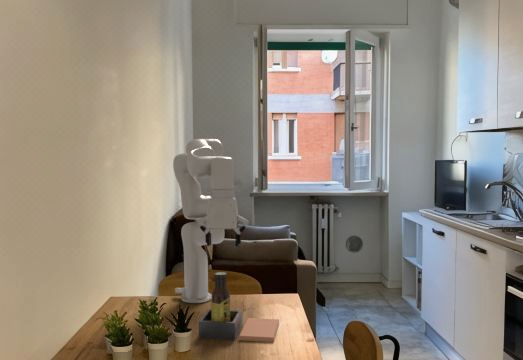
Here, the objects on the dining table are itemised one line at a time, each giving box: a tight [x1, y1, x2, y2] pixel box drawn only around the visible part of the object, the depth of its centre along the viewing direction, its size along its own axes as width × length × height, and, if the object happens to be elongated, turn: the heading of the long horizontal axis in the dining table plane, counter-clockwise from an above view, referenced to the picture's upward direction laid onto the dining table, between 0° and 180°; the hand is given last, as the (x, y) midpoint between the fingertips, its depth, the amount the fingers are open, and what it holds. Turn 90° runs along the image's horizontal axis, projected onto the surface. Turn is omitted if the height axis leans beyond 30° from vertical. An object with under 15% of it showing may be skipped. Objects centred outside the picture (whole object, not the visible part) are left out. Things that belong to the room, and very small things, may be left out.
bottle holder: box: [198, 308, 243, 341], centre depth 160 cm, size 12×12×6 cm
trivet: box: [239, 317, 280, 343], centre depth 160 cm, size 11×16×2 cm
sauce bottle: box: [210, 271, 231, 322], centre depth 160 cm, size 7×6×20 cm
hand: (223, 245), depth 159 cm, fingers open, 9 cm apart
